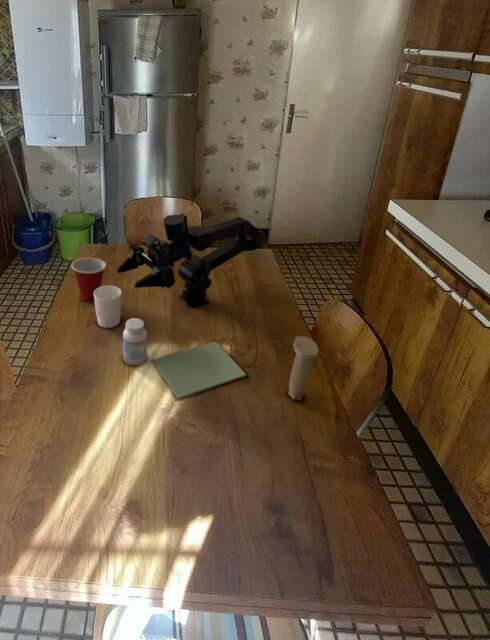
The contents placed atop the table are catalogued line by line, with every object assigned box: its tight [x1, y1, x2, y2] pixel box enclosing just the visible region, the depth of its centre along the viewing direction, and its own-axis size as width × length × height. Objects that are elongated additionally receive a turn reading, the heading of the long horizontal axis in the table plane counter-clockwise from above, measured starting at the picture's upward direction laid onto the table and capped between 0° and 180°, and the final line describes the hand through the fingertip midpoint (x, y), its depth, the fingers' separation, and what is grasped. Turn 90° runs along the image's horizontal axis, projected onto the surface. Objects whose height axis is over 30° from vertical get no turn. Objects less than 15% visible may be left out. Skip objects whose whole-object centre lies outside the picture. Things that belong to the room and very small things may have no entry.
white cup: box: [94, 284, 122, 329], centre depth 126 cm, size 8×8×10 cm
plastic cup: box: [70, 257, 107, 302], centre depth 138 cm, size 11×11×12 cm
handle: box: [288, 335, 319, 401], centre depth 100 cm, size 5×6×15 cm
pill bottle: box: [122, 317, 148, 366], centre depth 112 cm, size 6×6×11 cm
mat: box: [153, 341, 247, 400], centre depth 111 cm, size 19×14×1 cm
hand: (125, 278), depth 119 cm, fingers open, 9 cm apart
